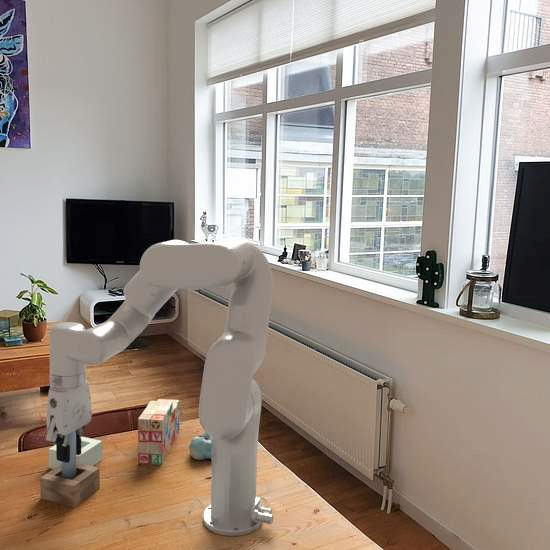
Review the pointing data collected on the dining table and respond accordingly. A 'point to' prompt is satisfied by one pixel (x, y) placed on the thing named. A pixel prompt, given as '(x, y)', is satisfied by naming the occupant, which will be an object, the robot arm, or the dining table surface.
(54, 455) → the white square hollow block
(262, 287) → the robot arm
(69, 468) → the light blue rod
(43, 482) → the brown wooden square ring
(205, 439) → the teal cartoon creature figurine
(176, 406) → the stack of blocks
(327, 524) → the dining table surface
